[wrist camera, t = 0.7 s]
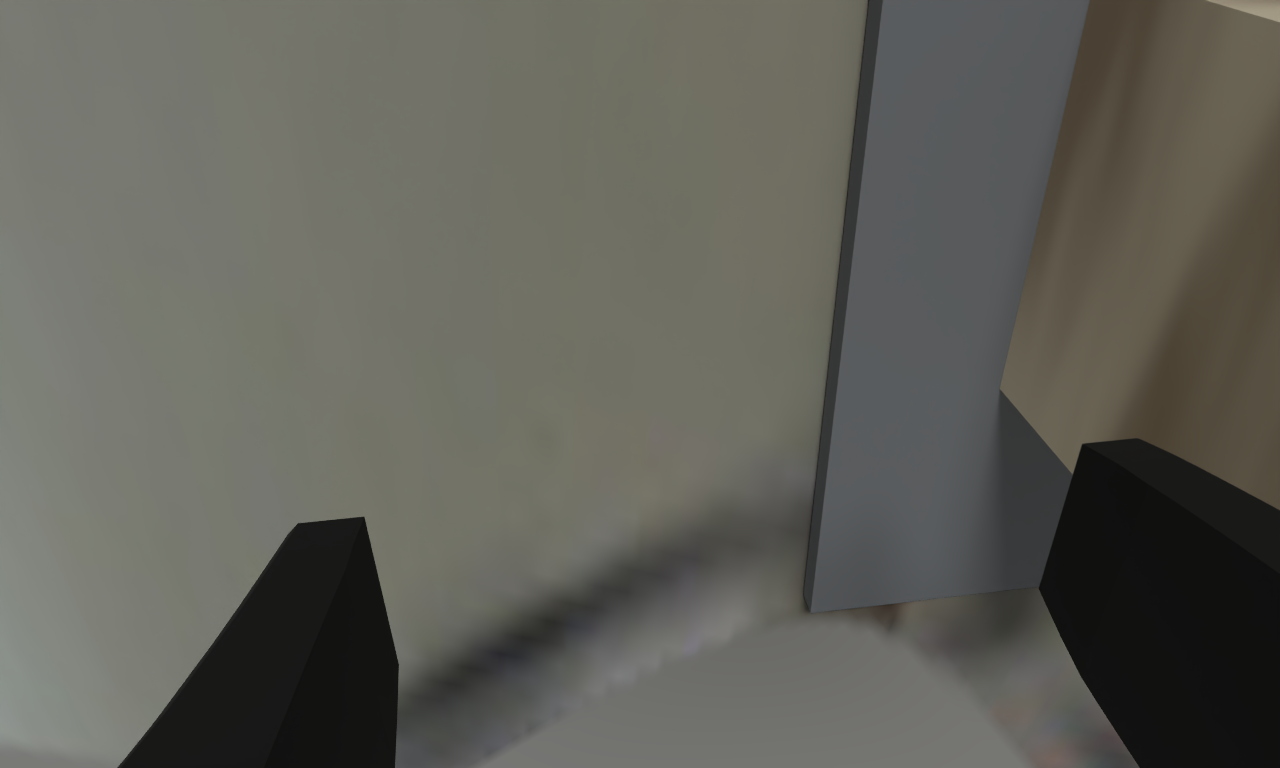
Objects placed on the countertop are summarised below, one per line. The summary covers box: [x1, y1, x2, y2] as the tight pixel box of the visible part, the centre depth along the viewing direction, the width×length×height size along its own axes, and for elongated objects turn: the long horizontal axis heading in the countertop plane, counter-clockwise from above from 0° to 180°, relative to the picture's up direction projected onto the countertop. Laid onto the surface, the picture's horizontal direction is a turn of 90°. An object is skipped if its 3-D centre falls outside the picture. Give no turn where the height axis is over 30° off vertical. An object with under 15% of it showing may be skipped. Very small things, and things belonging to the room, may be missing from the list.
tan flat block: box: [1000, 0, 1280, 510], centre depth 14 cm, size 3×8×8 cm, turn 1°
